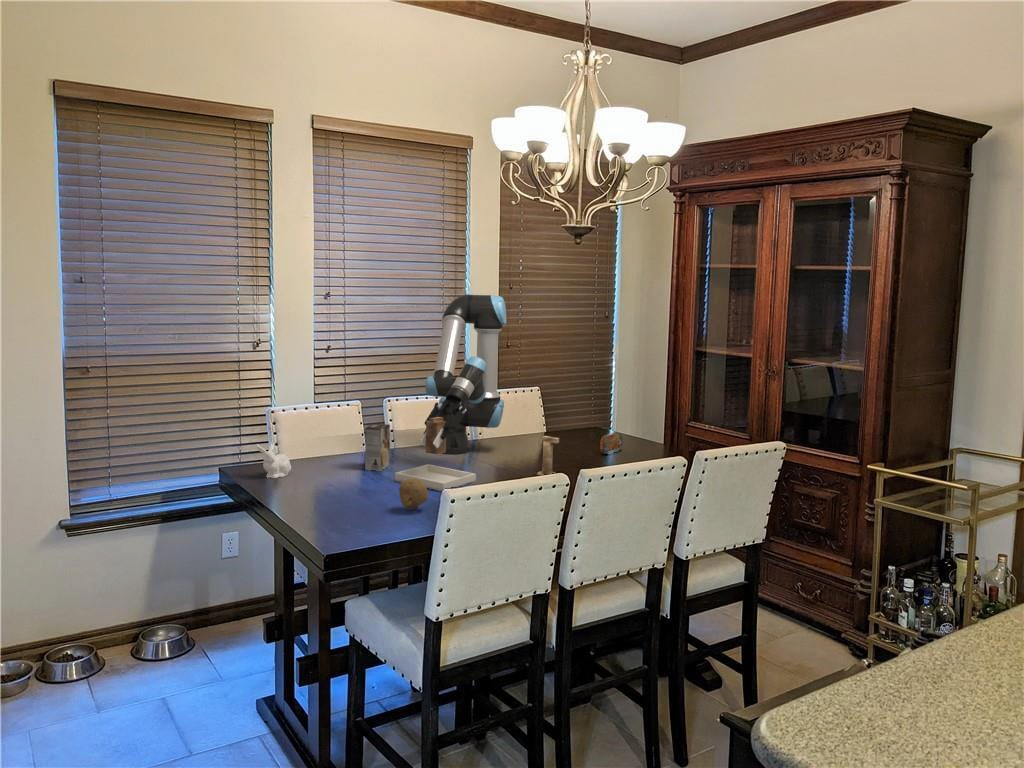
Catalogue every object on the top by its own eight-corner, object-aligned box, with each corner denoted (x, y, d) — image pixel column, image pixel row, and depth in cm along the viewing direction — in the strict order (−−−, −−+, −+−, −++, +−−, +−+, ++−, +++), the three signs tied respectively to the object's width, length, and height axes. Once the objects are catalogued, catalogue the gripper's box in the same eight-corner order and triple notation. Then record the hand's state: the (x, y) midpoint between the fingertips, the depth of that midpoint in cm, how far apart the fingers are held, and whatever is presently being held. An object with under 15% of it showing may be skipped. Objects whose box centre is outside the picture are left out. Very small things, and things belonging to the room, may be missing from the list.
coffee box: (373, 464, 309) (374, 423, 307) (389, 466, 308) (390, 424, 306) (364, 470, 300) (365, 427, 298) (381, 471, 299) (381, 428, 297)
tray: (394, 481, 286) (394, 472, 286) (428, 472, 301) (428, 464, 300) (443, 492, 274) (443, 483, 273) (475, 482, 288) (476, 473, 288)
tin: (604, 456, 337) (605, 436, 336) (597, 455, 339) (598, 435, 338) (622, 451, 349) (623, 432, 348) (616, 450, 351) (617, 431, 350)
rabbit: (271, 480, 281) (271, 446, 280) (252, 476, 286) (252, 443, 284) (297, 474, 292) (297, 441, 290) (278, 470, 296) (277, 437, 295)
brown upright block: (425, 452, 284) (426, 417, 283) (434, 450, 288) (435, 416, 287) (436, 454, 282) (437, 419, 280) (445, 452, 286) (446, 418, 284)
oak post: (533, 476, 300) (535, 437, 298) (544, 472, 306) (545, 434, 304) (551, 479, 296) (552, 439, 294) (561, 475, 302) (562, 437, 300)
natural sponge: (428, 506, 257) (429, 475, 256) (426, 514, 248) (427, 482, 247) (400, 505, 257) (400, 474, 255) (397, 513, 248) (397, 481, 246)
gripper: (484, 402, 291) (454, 454, 279) (444, 397, 301) (414, 447, 289) (475, 388, 286) (444, 441, 274) (435, 384, 296) (404, 434, 284)
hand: (429, 444), depth 282 cm, fingers closed on brown upright block, 5 cm apart
